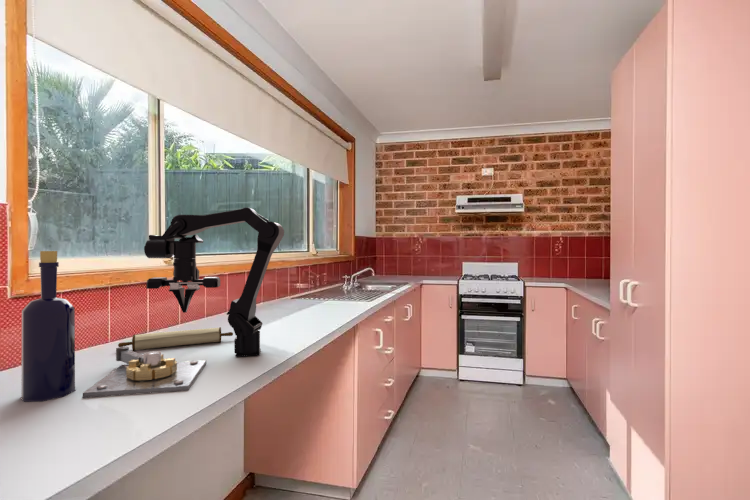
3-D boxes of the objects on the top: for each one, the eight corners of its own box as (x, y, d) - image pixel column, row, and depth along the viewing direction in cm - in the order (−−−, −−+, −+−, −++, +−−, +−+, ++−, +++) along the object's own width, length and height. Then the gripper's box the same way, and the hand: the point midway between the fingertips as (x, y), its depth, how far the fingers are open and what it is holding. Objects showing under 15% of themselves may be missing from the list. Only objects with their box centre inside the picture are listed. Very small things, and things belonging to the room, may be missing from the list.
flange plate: (206, 363, 105) (206, 341, 105) (188, 390, 85) (188, 362, 85) (122, 368, 101) (122, 345, 100) (82, 397, 81) (82, 368, 81)
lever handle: (140, 356, 107) (140, 343, 107) (183, 371, 94) (183, 357, 94) (98, 365, 99) (98, 351, 99) (139, 383, 86) (139, 367, 86)
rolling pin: (231, 339, 134) (231, 324, 134) (234, 343, 129) (234, 327, 129) (119, 350, 119) (119, 333, 119) (116, 355, 114) (116, 337, 114)
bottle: (86, 389, 86) (86, 251, 86) (38, 405, 77) (38, 251, 77) (57, 384, 89) (57, 250, 89) (8, 398, 80) (8, 251, 80)
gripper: (223, 257, 125) (223, 307, 125) (158, 257, 121) (158, 309, 121) (217, 258, 114) (217, 313, 114) (145, 258, 110) (145, 315, 110)
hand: (184, 312), depth 115 cm, fingers closed
